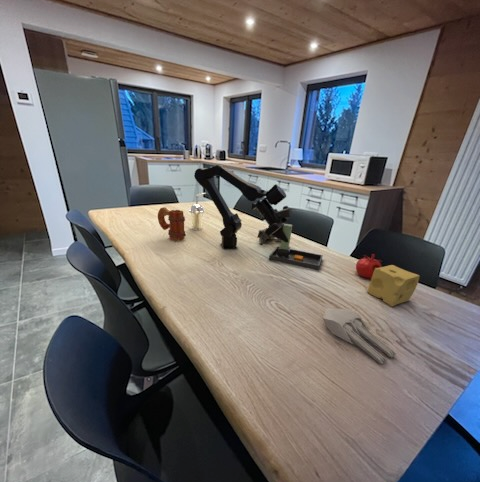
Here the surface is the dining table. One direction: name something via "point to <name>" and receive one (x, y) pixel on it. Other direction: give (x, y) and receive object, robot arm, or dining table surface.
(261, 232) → the brown spiky lump
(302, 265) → the pan
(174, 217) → the mug
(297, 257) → the crust
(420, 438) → the dining table surface
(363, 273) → the pomegranate
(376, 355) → the turret
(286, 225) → the brush
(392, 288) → the cheese
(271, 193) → the robot arm
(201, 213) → the cup with straw
